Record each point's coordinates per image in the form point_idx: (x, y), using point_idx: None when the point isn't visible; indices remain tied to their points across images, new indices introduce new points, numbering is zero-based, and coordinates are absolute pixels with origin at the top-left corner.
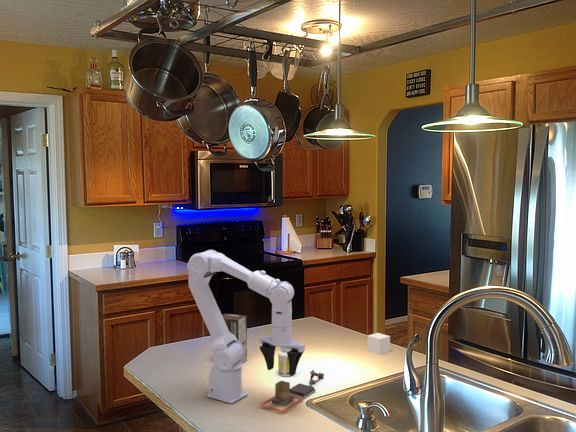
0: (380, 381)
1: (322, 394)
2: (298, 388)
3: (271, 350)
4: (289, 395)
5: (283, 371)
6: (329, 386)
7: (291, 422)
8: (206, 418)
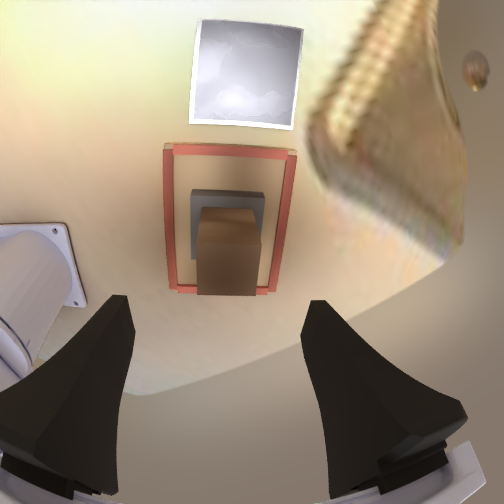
0: None
1: (341, 48)
2: (233, 79)
3: (89, 436)
4: (253, 215)
5: None
6: None
7: None
8: None
